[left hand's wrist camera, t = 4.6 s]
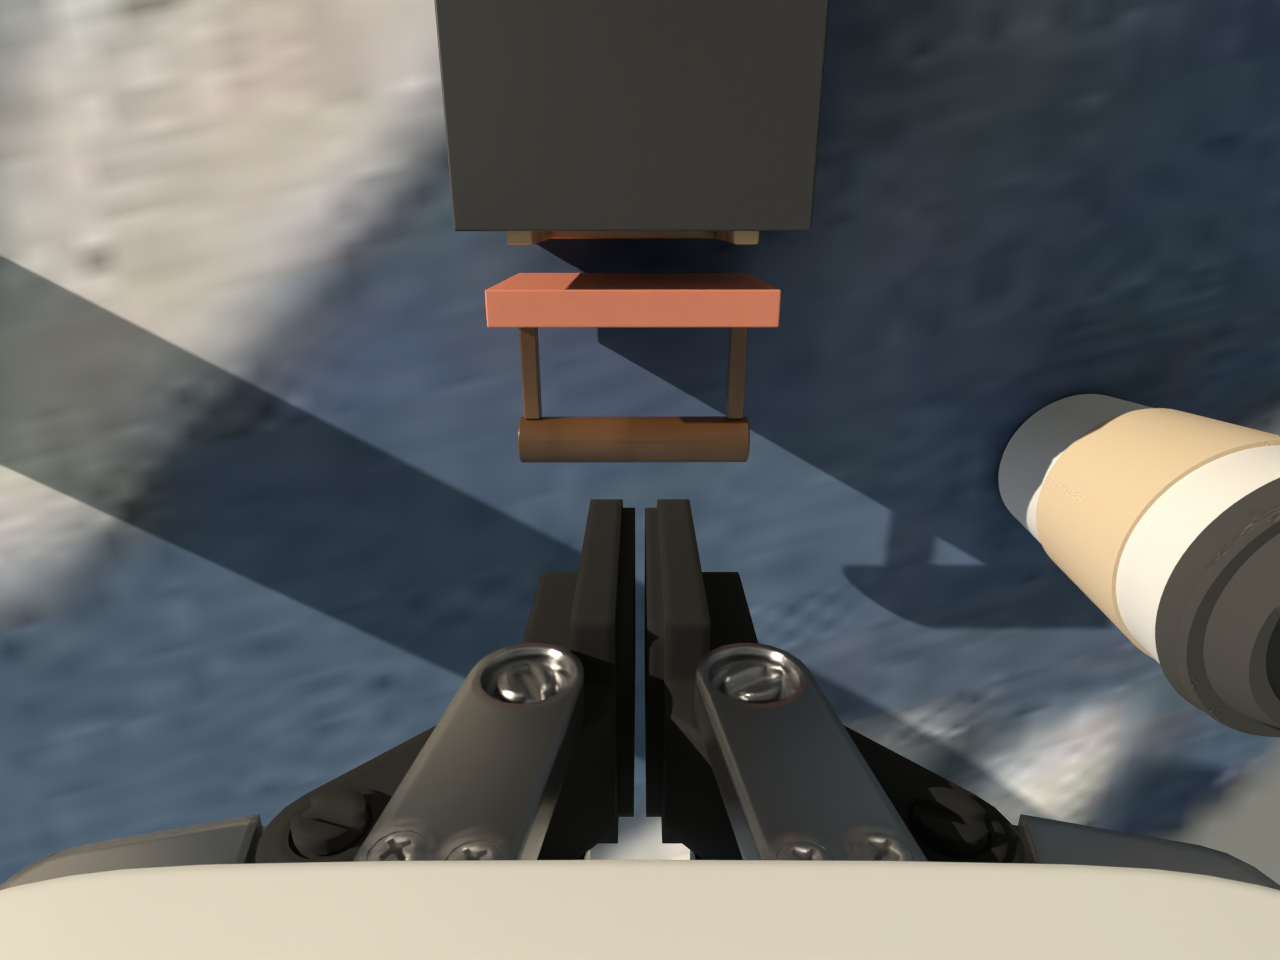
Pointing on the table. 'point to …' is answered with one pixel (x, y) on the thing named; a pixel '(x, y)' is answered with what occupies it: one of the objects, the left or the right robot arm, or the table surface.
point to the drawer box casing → (632, 113)
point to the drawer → (633, 306)
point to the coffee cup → (1164, 539)
